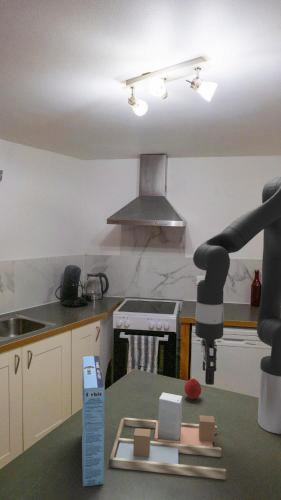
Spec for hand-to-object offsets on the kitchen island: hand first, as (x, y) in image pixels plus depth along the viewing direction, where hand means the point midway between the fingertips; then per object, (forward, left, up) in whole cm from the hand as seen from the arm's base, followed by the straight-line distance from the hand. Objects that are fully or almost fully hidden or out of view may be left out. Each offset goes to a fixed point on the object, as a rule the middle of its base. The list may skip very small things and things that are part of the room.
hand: (207, 376), depth 90 cm
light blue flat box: (+30, +10, -19) cm, 37 cm away
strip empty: (+15, +9, -19) cm, 26 cm away
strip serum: (+6, 0, -19) cm, 19 cm away
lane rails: (+10, +4, -19) cm, 22 cm away
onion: (+2, -24, -19) cm, 30 cm away
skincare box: (+10, 0, -19) cm, 21 cm away
